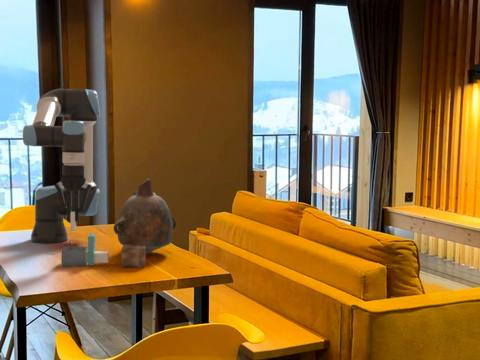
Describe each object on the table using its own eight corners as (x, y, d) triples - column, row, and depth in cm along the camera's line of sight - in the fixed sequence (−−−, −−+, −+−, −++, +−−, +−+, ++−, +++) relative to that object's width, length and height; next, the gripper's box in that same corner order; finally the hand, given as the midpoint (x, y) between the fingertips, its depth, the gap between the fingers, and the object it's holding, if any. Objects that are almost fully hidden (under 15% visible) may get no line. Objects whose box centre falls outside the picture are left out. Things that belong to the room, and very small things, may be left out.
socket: (121, 267, 227) (121, 248, 226) (123, 262, 235) (123, 244, 234) (144, 267, 228) (144, 248, 227) (145, 262, 236) (145, 244, 235)
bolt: (61, 265, 226) (61, 236, 225) (64, 261, 231) (64, 233, 230) (107, 265, 228) (107, 236, 227) (109, 262, 233) (109, 233, 232)
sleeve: (61, 267, 225) (61, 250, 225) (64, 262, 232) (64, 246, 232) (84, 267, 226) (84, 250, 226) (87, 262, 233) (87, 246, 233)
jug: (140, 246, 266) (141, 174, 263) (184, 252, 257) (185, 177, 254) (103, 256, 244) (103, 178, 241) (149, 263, 235) (151, 182, 232)
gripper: (52, 164, 221) (52, 231, 223) (90, 165, 223) (90, 232, 225) (56, 163, 229) (56, 228, 231) (93, 164, 230) (93, 228, 232)
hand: (73, 230), depth 228 cm, fingers closed
